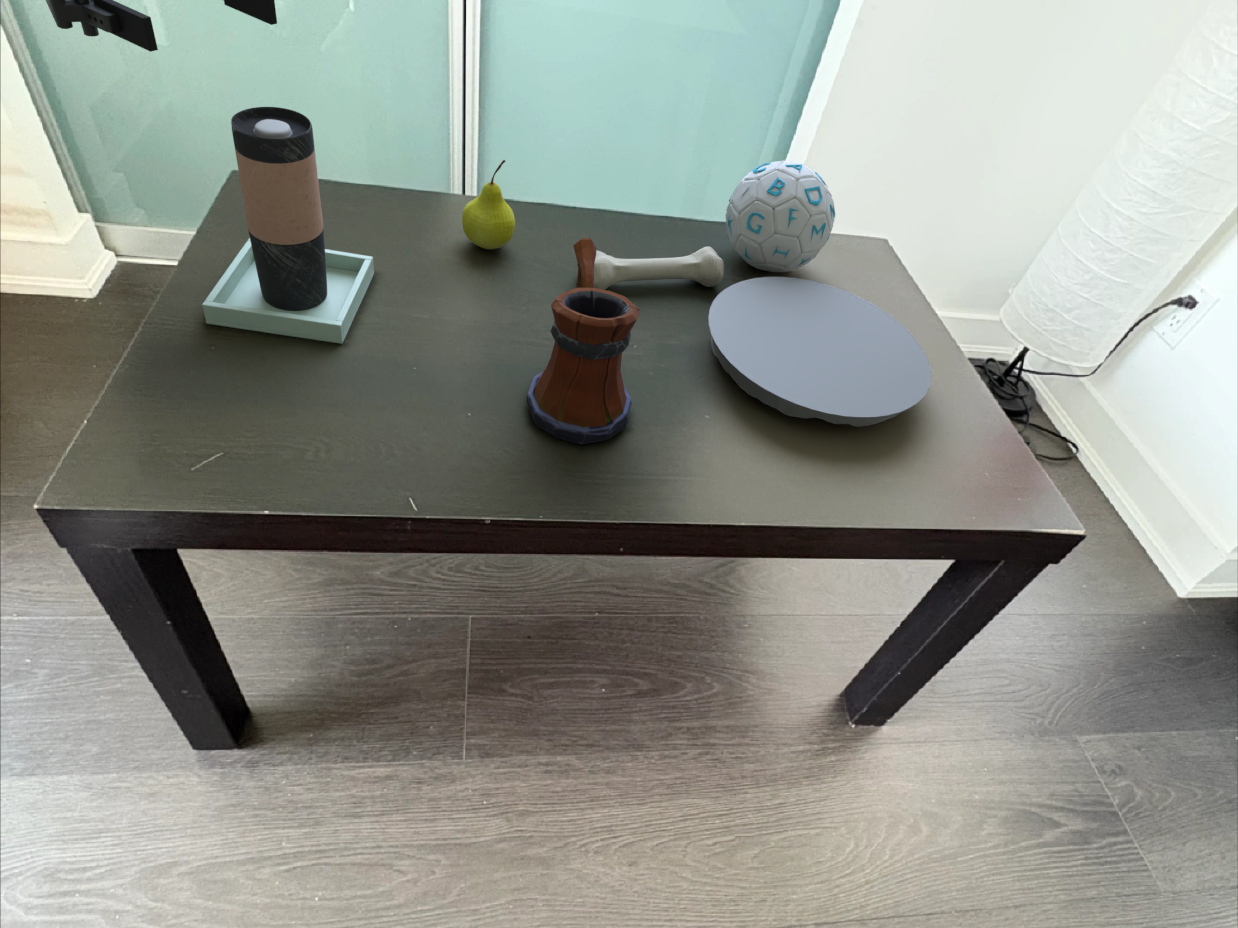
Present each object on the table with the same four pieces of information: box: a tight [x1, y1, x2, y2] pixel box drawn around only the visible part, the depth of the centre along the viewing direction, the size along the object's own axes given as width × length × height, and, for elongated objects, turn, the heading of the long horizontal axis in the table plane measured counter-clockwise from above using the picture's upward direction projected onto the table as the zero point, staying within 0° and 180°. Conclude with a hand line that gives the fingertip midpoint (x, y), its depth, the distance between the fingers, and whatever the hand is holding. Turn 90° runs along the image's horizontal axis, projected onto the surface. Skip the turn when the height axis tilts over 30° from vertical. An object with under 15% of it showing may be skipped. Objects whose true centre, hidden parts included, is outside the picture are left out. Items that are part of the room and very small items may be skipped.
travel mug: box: [230, 106, 327, 311], centre depth 85 cm, size 8×8×20 cm
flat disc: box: [708, 276, 932, 428], centre depth 98 cm, size 28×28×4 cm
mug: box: [526, 237, 641, 445], centre depth 84 cm, size 18×12×15 cm, turn 6°
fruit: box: [461, 159, 516, 250], centre depth 103 cm, size 7×7×12 cm
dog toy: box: [594, 245, 725, 290], centre depth 106 cm, size 20×6×5 cm, turn 108°
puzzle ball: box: [725, 160, 836, 273], centre depth 112 cm, size 15×15×15 cm
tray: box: [201, 237, 375, 345], centre depth 91 cm, size 15×15×2 cm
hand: (215, 21), depth 74 cm, fingers open, 13 cm apart
